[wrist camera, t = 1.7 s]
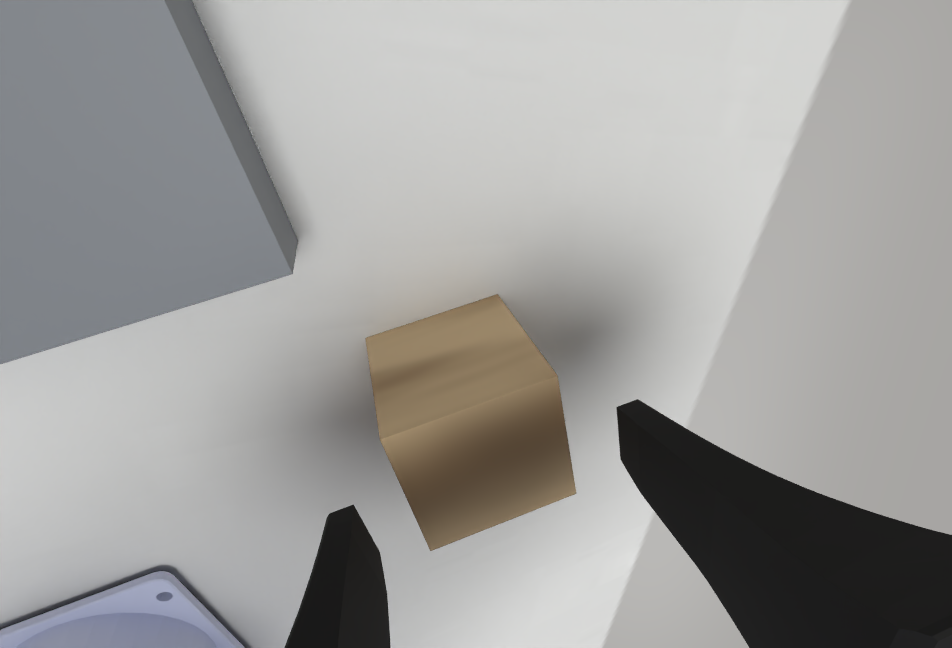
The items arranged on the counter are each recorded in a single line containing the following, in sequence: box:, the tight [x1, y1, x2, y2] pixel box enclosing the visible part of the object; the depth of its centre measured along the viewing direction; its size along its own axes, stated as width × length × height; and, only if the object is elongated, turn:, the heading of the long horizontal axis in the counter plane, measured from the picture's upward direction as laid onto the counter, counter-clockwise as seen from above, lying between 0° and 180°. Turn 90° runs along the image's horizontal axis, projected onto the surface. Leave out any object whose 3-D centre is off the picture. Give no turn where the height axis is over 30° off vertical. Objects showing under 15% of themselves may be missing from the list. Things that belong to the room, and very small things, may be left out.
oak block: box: [366, 294, 576, 551], centre depth 15 cm, size 5×5×5 cm
